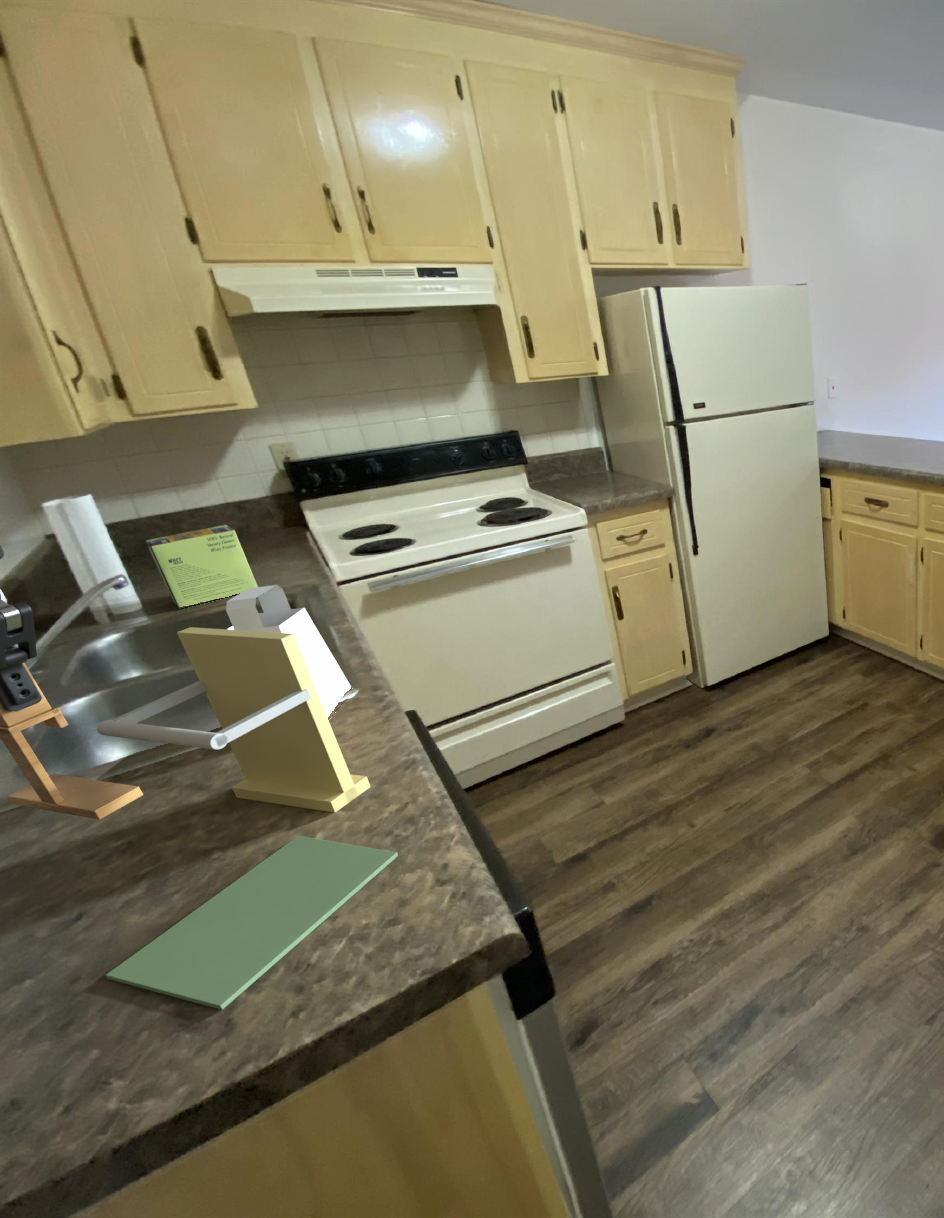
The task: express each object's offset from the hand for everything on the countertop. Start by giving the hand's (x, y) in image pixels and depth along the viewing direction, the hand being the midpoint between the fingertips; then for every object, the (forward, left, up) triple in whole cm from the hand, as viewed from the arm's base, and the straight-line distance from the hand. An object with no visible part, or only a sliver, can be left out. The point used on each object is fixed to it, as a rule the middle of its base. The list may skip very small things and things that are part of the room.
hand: (18, 705), depth 58 cm
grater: (-20, +34, -23) cm, 46 cm away
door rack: (0, +14, -23) cm, 27 cm away
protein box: (-101, +77, -23) cm, 129 cm away
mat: (+15, +2, -23) cm, 28 cm away
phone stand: (0, 0, -3) cm, 3 cm away
